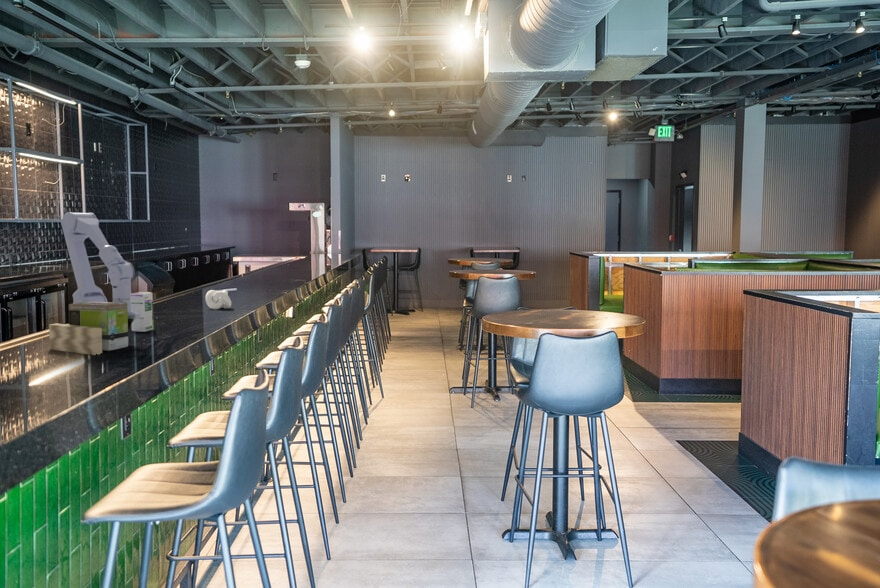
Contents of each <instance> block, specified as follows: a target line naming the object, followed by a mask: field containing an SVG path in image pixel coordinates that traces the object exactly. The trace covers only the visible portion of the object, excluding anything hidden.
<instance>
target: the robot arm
mask: <svg viewBox="0 0 880 588" xmlns="http://www.w3.org/2000/svg"><path fill="white" fill-rule="evenodd" d="M60 225H61V228H62V232H63V235H64V239H65V244H66V247H67V252H68V256H69V258H70V263H71V267H72V270H73V275H74V278H75V282H76V285H77V289H76V290H75V292H73V294H72V295H71V296H72V300H73V302H72V304H74V303H82V302H108V299H107V297H106V295H105V293H104V292H103V289H101V288H100V287H99V286H97V285H96V284H95V280H94V276H93V272H92V268H91V264H90V261H89V257H88V253H87V249H86V245H85V240H86V239H88V238H89V240H91V242H92V243H93V244H94V245H95V247H96V248H97V250H99V252H98V257H99V258H100V259H101V261H102V263H104V265H105V266H106V268H107V269H108V271H107V276H108V278H109V280H110V285H111V286H112V287H111V288H112V292H111V293H112V302H117V303H127V311H128V332H130V328H131V327H132V322H133V321H134V319H140V313H136V312H132V311H131V293H132V280H133V278H134V277H135V267H134V266H133V264H132V263H131V262H129V261H127V260H125V259H124V258H123V256H121V254H120V252H119V251H118V248H117V247H116V246H114V245H110V244H109V243H108V241H107V239H106V237H105V235H104V234H103V232H102V230H101V228H100V227H99V225H100V220H99V219H98V218H97V216H96V215H95V213H93V212H71V211H67V212H65V213H64V215H62V219H61V220H60Z"/></svg>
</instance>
